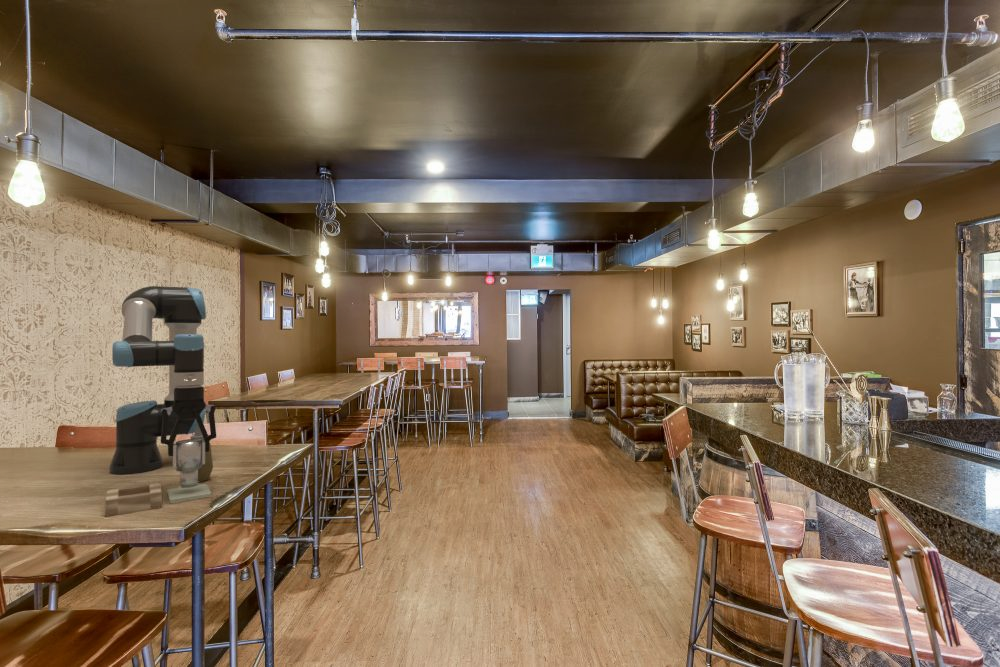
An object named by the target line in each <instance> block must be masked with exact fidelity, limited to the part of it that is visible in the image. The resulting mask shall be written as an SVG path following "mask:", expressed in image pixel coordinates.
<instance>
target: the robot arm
mask: <svg viewBox="0 0 1000 667" xmlns="http://www.w3.org/2000/svg"><path fill="white" fill-rule="evenodd" d="M120 309H121V310H120V311H121V314H122V317H123V319H124V320H123V329H122V340H118V341H114V342H113V343H112V347H111V348H112V351H111V352H112V353H111V354H112V355H111V356H112V364H113V366H114V367H116V368H117V367H119V368H120V367H122V368H123V367H124V368H132V367H133V368H135V367H136V368H137V367H155V366H156V367H157V366H158V367H159V366H160V367H164V366H167V367H168V370H169V371H168V374H169V375H168V384H169V385H168V394H167V395H166V396H165V397H164V398H163V401H164V402H163V403H158V402H157V400H155V399H154V400H144V401H139V402H138V401H137V402H132V403H128V404H124V405H121V406H119V407H118V408H117V410H116V414H115V415H116V417H115V423H116V428H115V429H116V431H115V434H116V435H115V436H116V437H115V446H116V447H115V451H114V454H113V456H112V459H111V461H110V464H109V473H110V474H115V475H127V474H128V475H129V474H130V475H131V474H137V473H144V472H149V471H153V470H156V469H159V468H162V467H163V465H164V464H163V463H164V462H163V460H164V459H163V457H162V454H161V451H160V449H159V447H158V442H157V441H158V440H157V438H160V444H162V445H166V446H167V454H168V457H172V468H173V469H176V443H175V441H176V438H177V436H179V435H186V436H187V435H191V434H195V430H196V426H197V425H198V426H199V428H200V430H201V433H202V435H203V438H204V441H202V464H205V452H209V442H211V440H213V439H216V438H217V428H216V420H215V419H216V417H215V412H216V406H215V405H214V404H206V401H205V388H204V386H203V385H204V383H205V374H204V373H205V372H204V365H205V364H204V363H205V362H204V361H205V359H204V358H205V350H204V349H205V342H204V336H203V335H202V334H200V333H199V334H197V333H198V331H197V329H198V328H199V327H200V326H201V325H202V320H206V319H207V313H206V312H207V311H206V304H205V298H204V294H203V291H202V290H201V289H199V288H198V287H197V288H196V287H188V286H184V287H181V286H180V287H179V286H157V285H152V286H151V285H150V286H145V287H141V288H139V289H137V290H135V291H133V292H131V293H130V294H129V295H128V296H126V298H125V299H124V300H123V302H122V304H121V308H120ZM153 319H158V320H159V319H163V321H164V322H163V323H164V325H165V326H166V327H167V328H168V329H169V331H168V332H169V333H168V335H169V336H168V337H169V338H168V340H153ZM206 412H207V413H208V421H209V431H210V432H209V433H210V434H208V431H207V430H206V427H205V424H204V422H205V417H206ZM167 437H169V438H167Z"/></svg>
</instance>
